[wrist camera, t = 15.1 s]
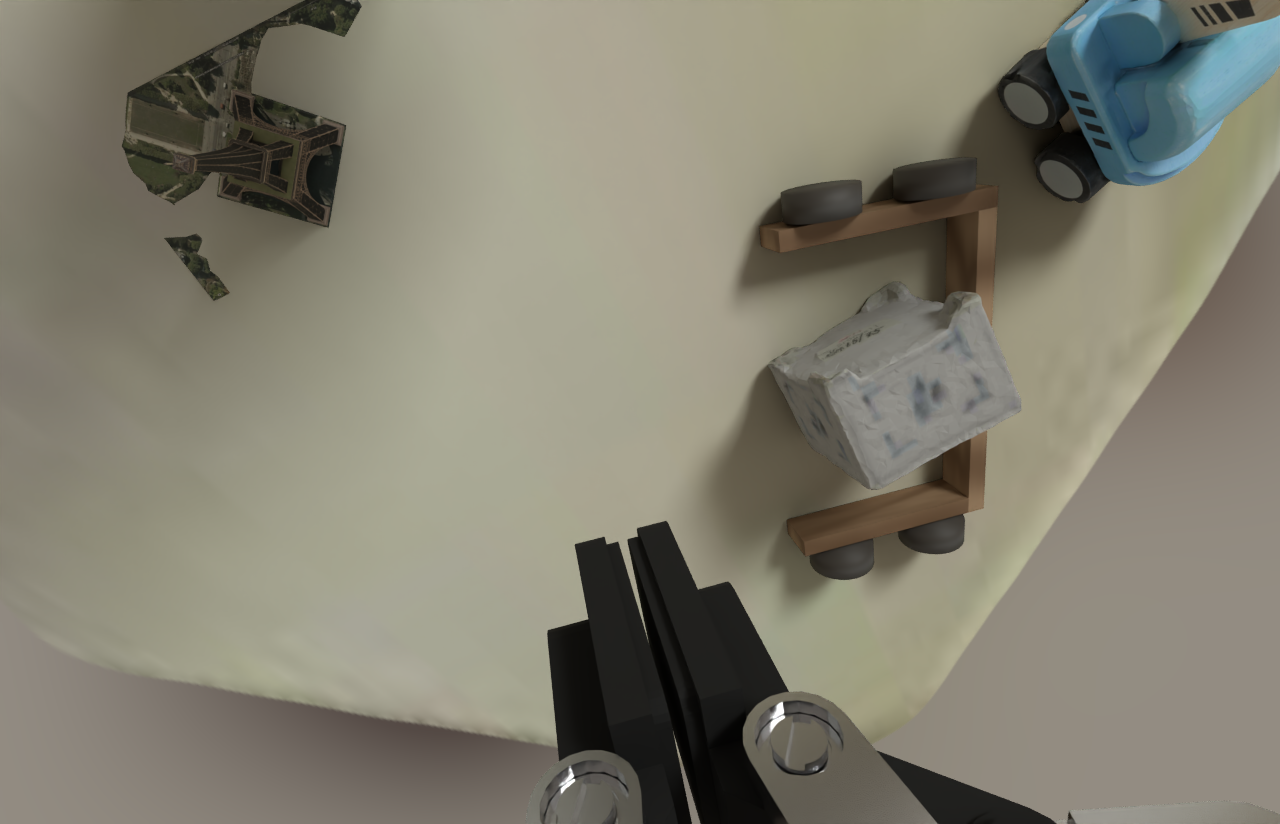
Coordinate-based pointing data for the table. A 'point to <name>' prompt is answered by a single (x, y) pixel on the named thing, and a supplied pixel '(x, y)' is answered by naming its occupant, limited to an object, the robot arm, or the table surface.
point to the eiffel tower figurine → (236, 134)
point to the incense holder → (898, 383)
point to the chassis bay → (971, 212)
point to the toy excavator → (1139, 87)
